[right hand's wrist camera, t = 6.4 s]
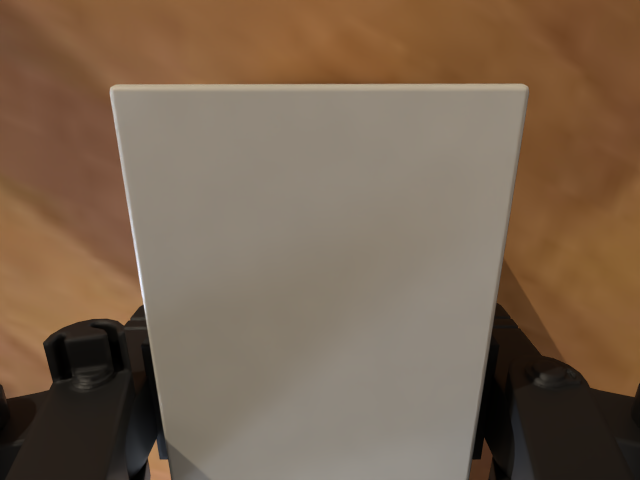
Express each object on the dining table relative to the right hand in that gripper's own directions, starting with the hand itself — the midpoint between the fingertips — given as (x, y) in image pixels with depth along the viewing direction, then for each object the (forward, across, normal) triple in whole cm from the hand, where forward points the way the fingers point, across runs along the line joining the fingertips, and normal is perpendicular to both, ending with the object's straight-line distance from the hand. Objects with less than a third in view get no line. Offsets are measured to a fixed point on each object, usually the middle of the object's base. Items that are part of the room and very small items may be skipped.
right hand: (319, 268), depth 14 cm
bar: (+1, 0, -21) cm, 21 cm away
